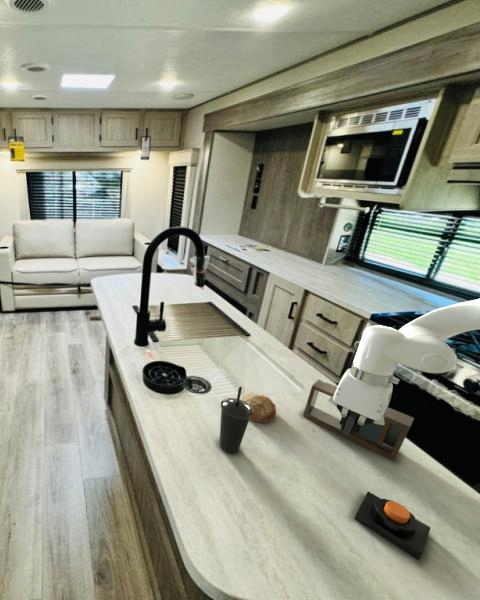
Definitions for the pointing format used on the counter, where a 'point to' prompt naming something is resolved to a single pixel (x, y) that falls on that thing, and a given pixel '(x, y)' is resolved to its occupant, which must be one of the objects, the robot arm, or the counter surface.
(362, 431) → the window sash
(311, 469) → the counter surface
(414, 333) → the robot arm
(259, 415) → the bread roll
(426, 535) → the control block
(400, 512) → the button
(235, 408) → the drinking cup
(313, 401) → the window frame
